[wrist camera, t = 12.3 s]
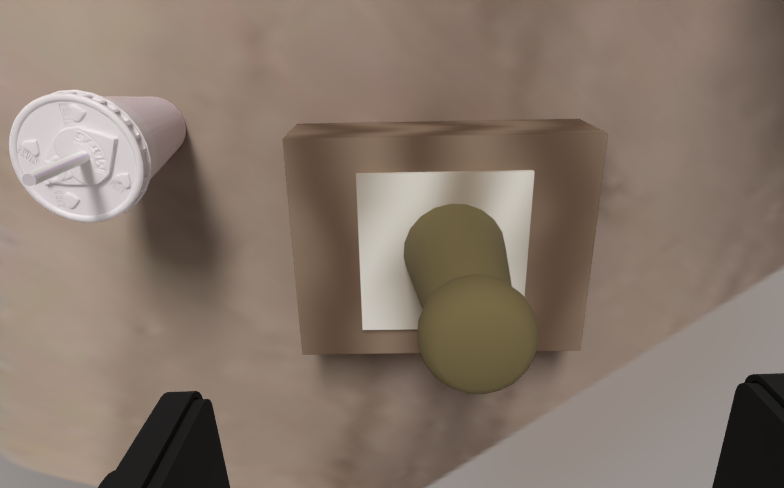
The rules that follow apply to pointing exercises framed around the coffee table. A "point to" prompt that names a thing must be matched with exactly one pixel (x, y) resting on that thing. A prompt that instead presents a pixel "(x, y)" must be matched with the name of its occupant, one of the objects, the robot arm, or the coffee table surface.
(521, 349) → the cork
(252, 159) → the coffee table surface
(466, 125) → the pedestal
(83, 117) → the smoothie
